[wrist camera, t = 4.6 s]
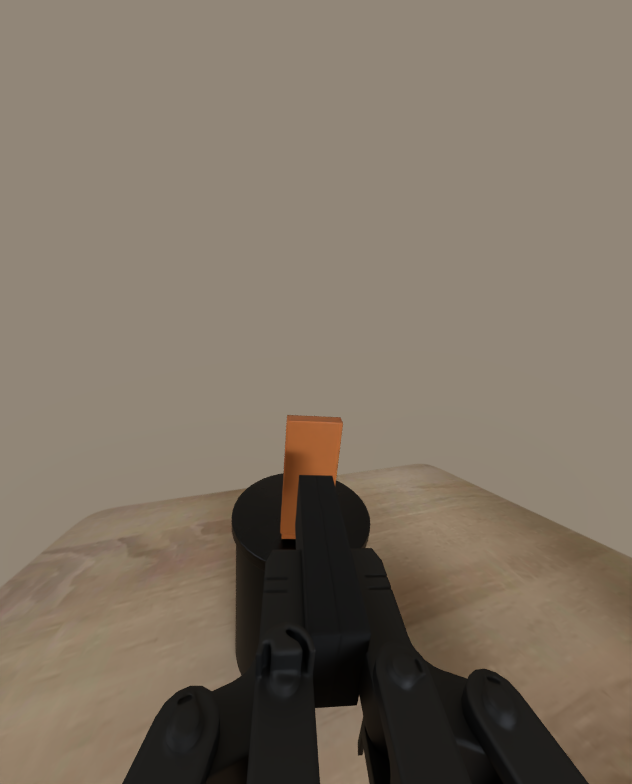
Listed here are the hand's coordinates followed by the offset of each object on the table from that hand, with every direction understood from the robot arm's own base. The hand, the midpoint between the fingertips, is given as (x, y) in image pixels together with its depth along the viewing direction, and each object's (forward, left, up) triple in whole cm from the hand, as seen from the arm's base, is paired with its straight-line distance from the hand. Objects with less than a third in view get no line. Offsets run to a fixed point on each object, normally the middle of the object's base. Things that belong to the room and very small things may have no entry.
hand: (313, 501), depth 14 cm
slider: (+1, -5, -5) cm, 7 cm away
